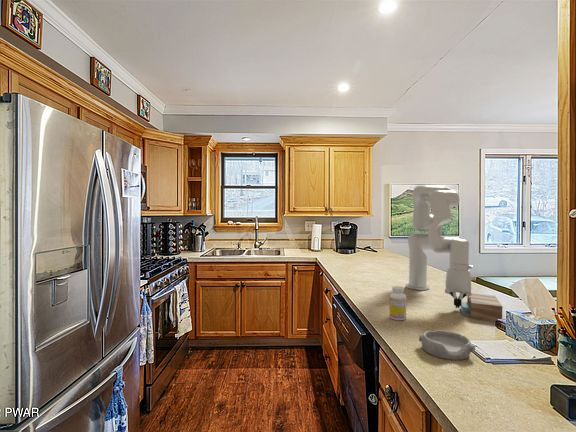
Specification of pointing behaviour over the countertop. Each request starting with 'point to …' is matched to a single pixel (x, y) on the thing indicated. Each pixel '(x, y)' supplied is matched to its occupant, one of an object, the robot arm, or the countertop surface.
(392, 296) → the supplement bottle
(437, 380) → the countertop surface
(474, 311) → the shelf dock
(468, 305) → the pale blue foam block
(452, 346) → the dish
